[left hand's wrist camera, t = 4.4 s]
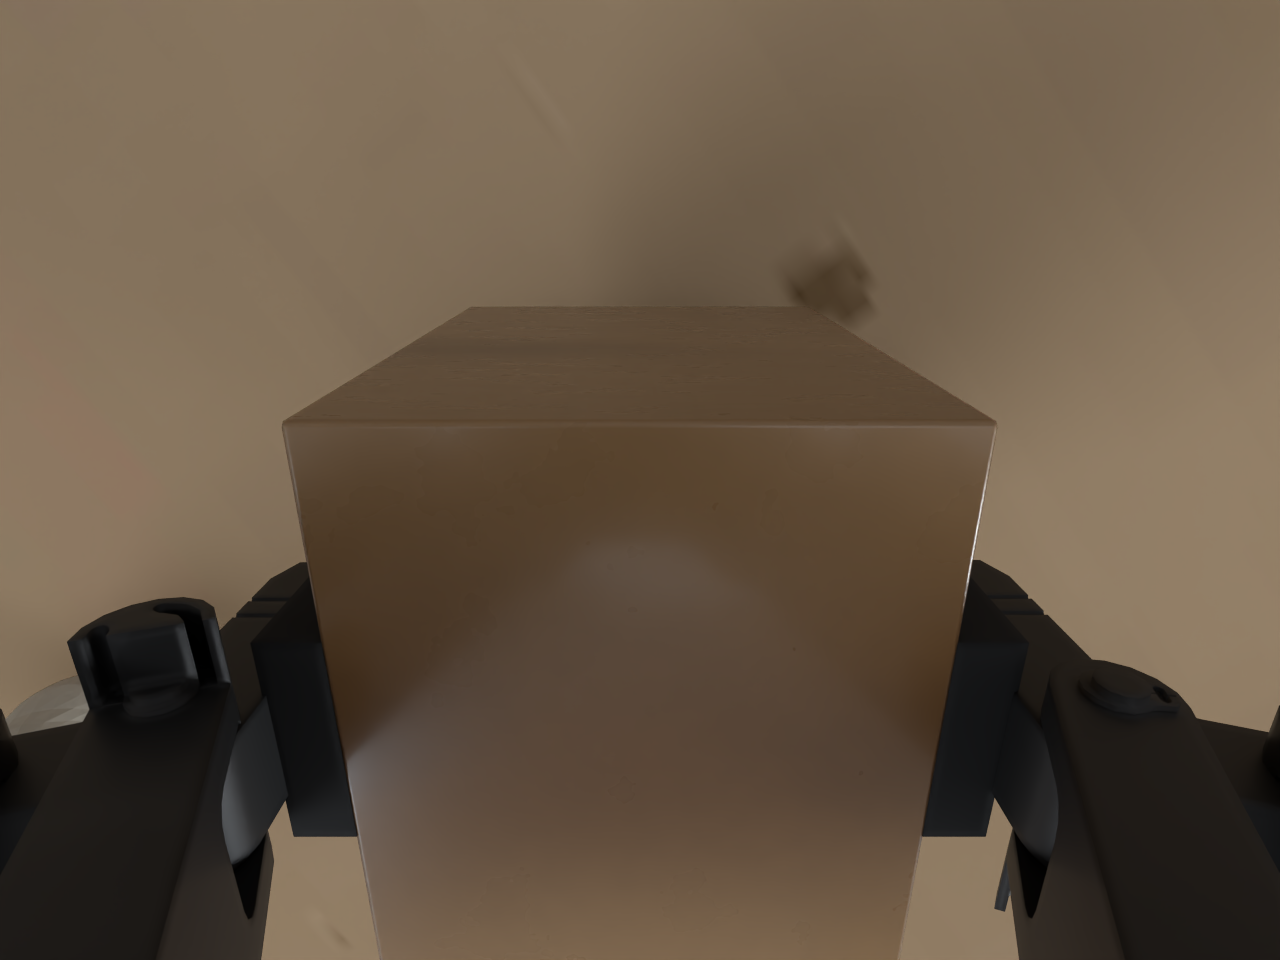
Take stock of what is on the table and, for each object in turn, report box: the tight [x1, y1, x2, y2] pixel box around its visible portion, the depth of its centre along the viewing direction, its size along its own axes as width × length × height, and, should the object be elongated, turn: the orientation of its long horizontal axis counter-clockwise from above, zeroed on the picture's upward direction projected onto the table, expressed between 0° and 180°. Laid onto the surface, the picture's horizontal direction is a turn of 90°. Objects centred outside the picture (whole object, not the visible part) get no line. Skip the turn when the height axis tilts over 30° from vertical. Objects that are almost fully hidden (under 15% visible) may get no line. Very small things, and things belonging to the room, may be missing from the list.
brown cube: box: [282, 307, 997, 960], centre depth 12 cm, size 8×7×8 cm
